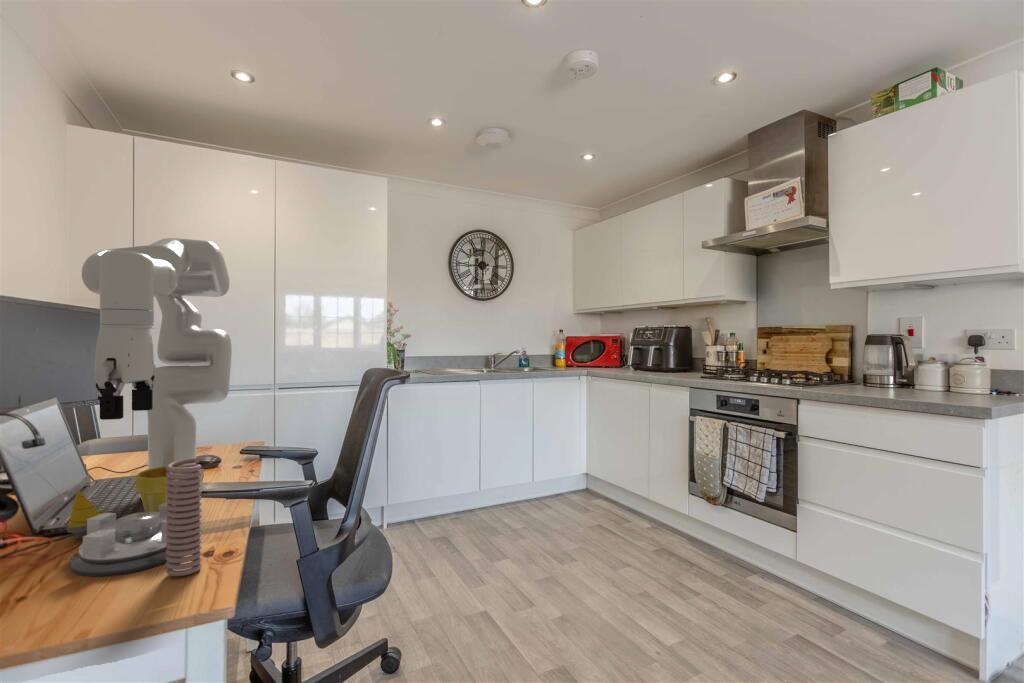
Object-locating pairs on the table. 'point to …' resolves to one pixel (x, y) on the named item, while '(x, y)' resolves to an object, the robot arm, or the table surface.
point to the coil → (183, 517)
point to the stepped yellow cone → (80, 516)
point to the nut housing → (116, 565)
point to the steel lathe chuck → (124, 536)
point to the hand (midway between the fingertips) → (127, 414)
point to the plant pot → (153, 487)
